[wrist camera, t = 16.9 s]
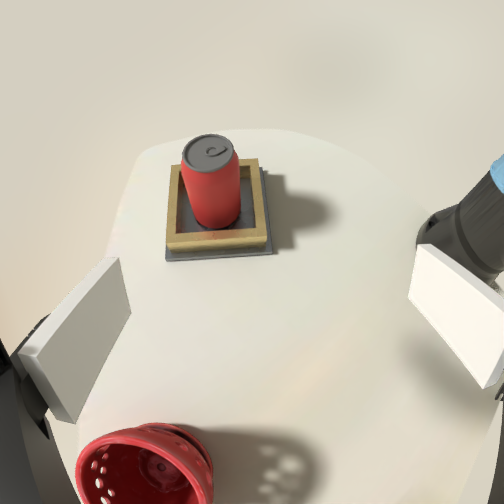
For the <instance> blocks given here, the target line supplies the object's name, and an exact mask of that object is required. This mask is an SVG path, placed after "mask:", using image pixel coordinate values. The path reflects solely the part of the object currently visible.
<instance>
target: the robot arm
mask: <svg viewBox="0 0 504 504" xmlns="http://www.w3.org/2000/svg"><path fill="white" fill-rule="evenodd" d="M502 271H504V154H503V155H502V156H501V157H500V158H499V159H498V160H496V161H494V162H493V164H492V165H491V168H490V170H489V171H488V173H487V174H486V175H485V176H484V177H483V178H482V179H481V181H480V182H479V183H478V184H477V185H476V186H475V187H474V188H473V189H472V190H471V191H470V192H469V193H468V195H466V196H465V197H464V199H463V200H462V201H461V202H460V203H459V204H457V205H454V206H451V207H449V208H446V209H444V210H441V211H438V212H436V213H435V214H433V215H432V216H430V218H429V219H428V220H427V221H426V222H425V223H424V224H423V225H422V227H421V228H420V230H419V232H418V235H417V241H416V258H415V264H414V269H413V275H412V280H411V285H410V290H409V294H408V299H409V300H410V301H411V302H412V303H413V304H414V305H415V306H416V308H417V309H418V310H419V311H420V312H421V313H422V314H423V316H424V317H425V318H426V319H427V320H428V321H429V322H430V324H431V325H432V326H433V327H434V328H435V330H436V331H437V332H438V333H439V334H440V335H441V337H442V338H443V339H444V340H445V342H446V343H447V344H448V345H449V346H450V348H451V349H452V350H453V351H454V353H455V354H456V355H457V356H458V358H459V359H460V360H461V361H462V363H463V364H464V365H465V367H466V368H467V369H468V370H469V372H470V373H471V374H472V376H473V377H474V378H475V380H476V381H477V382H478V384H479V385H480V386H481V388H482V389H485V388H487V387H490V386H492V385H494V384H496V383H497V381H498V379H499V378H500V376H501V374H502V372H503V370H504V298H503V297H502V296H500V295H499V294H498V293H497V292H495V291H494V290H493V289H492V288H490V285H491V284H492V283H493V281H494V280H495V279H496V277H497V276H498V275H499V273H501V272H502ZM130 314H131V309H130V305H129V301H128V297H127V293H126V289H125V284H124V280H123V275H122V271H121V266H120V261H119V257H114V258H103V259H102V260H101V261H100V262H99V263H98V264H97V265H96V266H95V267H94V268H93V269H92V270H91V271H90V272H89V273H88V274H87V275H86V276H85V277H84V278H83V279H82V280H81V281H80V282H79V283H78V284H77V285H76V287H75V288H74V289H73V290H72V291H71V292H70V293H69V294H68V295H67V296H66V297H65V298H64V299H63V301H62V302H61V303H60V304H59V305H58V306H57V307H56V308H55V309H54V310H53V312H52V313H50V314H49V315H47V316H46V317H44V318H43V319H41V320H40V322H39V323H38V324H37V325H36V326H35V327H34V330H32V331H31V332H30V333H29V334H28V337H26V338H25V339H24V340H23V341H22V342H21V344H20V345H19V346H18V347H17V349H16V350H15V351H14V352H13V353H12V355H11V356H10V357H9V355H8V353H7V351H6V349H5V348H4V345H3V343H2V341H1V339H0V504H81V502H80V500H79V498H78V496H77V494H76V492H75V490H74V488H73V485H72V483H71V481H70V479H69V476H68V474H67V471H66V469H65V467H64V464H63V462H62V459H61V457H60V454H59V451H58V448H57V445H56V442H55V439H54V436H53V433H52V430H51V427H50V424H49V421H48V420H47V418H46V417H45V413H46V412H47V410H48V408H49V409H50V410H51V412H52V413H53V415H54V416H55V418H56V419H57V420H60V421H64V422H68V423H72V424H76V422H77V420H78V417H79V415H80V413H81V411H82V409H83V406H84V404H85V402H86V400H87V398H88V396H89V394H90V392H91V390H92V387H93V385H94V383H95V381H96V379H97V377H98V375H99V373H100V371H101V369H102V367H103V365H104V363H105V361H106V359H107V357H108V355H109V354H110V352H111V350H112V348H113V346H114V344H115V342H116V340H117V338H118V336H119V335H120V333H121V331H122V329H123V327H124V325H125V323H126V322H127V320H128V318H129V316H130ZM502 393H503V397H502V398H501V400H500V401H503V414H502V426H501V436H500V444H499V452H498V458H497V463H496V469H495V474H494V479H493V484H492V488H491V492H490V496H489V500H488V504H504V383H503V384H502V386H501V388H500V389H499V391H498V393H497V394H496V397H495V400H497V399H498V398H499V396H500V394H502Z"/></svg>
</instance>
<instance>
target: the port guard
mask: <svg viewBox="0 0 504 504" xmlns="http://www.w3.org/2000/svg"><path fill="white" fill-rule="evenodd" d="M239 168H240V195H241V209H240V214H239V215H238V217H237V219H236V220H235V221H234V222H232V223H231V224H230V225H228V226H226V227H223V228H217V229H215V228H208V227H206V226H204V225H202V224H200V223H199V222H198V221H197V220H196V218H195V216H194V213H193V210H192V207H191V204H190V200H189V197H188V193H187V190H186V187H185V183H184V180H183V176H182V173H181V164H180V165H171V175H170V186H169V199H168V213H167V229H166V254H165V259H166V261H180V260H195V259H210V258H224V257H239V256H253V255H268V254H272V252H273V251H272V243H271V234H270V226H269V217H268V209H267V201H266V193H265V185H264V177H263V170H262V167H259V163H258V158H257V159H239Z"/></svg>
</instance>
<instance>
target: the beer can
mask: <svg viewBox="0 0 504 504" xmlns="http://www.w3.org/2000/svg"><path fill="white" fill-rule="evenodd" d="M181 173H182V176H183V180H184V183H185V187H186V190H187V193H188V197H189V200H190V204H191V207H192V210H193V213H194V216H195V218H196V220H197V221H198V222H199V223H200V224H202V225H204V226H206V227H208V228H215V229H217V228H223V227H226V226H228V225H230V224H231V223H232V222H234V221H235V220H236V219H237V217H238V215H239V214H240V209H241V195H240V168H239V159H238V156H237V153H236V152H235V150H234V148H233V145H232V143H231V142H230V140H228V139H227V138H225V137H223V136H220V135H217V134H206V135H201V136H199V137H196V138H194V139H193V140H191V141H190V142H188V144H187V145H186V146H185V147H184V150H183V152H182V161H181Z"/></svg>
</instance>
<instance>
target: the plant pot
mask: <svg viewBox="0 0 504 504" xmlns="http://www.w3.org/2000/svg"><path fill="white" fill-rule="evenodd" d="M103 456H104V457H103ZM102 457H103V458H102ZM92 463H93V467H92ZM91 467H92V469H91ZM101 467H103V472H102V473H101V471H100V470H101ZM75 469H76V470H75V478H76V484H77V488H78V491H79V494H80V496H81V499H82V501H83V502H84V504H103V503H102V501H101V497H103V498H104V499H105V500H106V502H107V504H212V502H213V480H212V478H213V466H212V462H211V459H210V456H209V454H208V452H207V451H206V449H205V448H204V446H203V445H202V444H201V443H200V442H199V441H198V440H197V439H196V438H195V437H194V436H193V435H191V434H190V433H188V432H187V431H185V430H183V429H181V428H179V427H177V426H174V425H171V424H166V423H148V424H143V425H140V426H138V427H135V428H127V429H122V430H118V431H115V432H112V433H109V434H106V435H104V436H101V437H99V438H97V439H95V440H93V441H92V442H90V443H89V444H88V445H87V446H86V447H85V448H84V449H83V450H82V451H81V453H80V455H79V457H78V460H77V463H76V468H75ZM97 478H98V480H99V482H100V487H99V488H97V486H96V483H95V481H96V479H97ZM108 489H109V490H110V491H111V493H112V496H110V495H109V494H108Z"/></svg>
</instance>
